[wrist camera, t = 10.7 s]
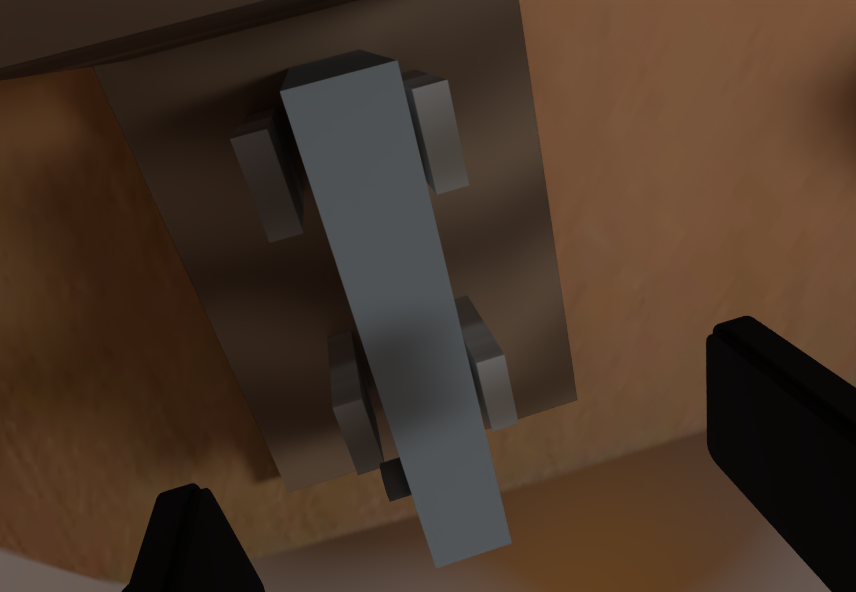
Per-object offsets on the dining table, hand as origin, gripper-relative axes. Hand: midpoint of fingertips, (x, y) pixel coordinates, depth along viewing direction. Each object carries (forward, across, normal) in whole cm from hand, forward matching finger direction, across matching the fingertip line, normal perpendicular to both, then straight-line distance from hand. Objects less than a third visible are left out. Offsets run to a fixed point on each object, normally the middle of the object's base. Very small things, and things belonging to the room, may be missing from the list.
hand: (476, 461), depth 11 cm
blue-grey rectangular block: (+13, +1, +1) cm, 13 cm away
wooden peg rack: (+15, +1, +1) cm, 15 cm away
